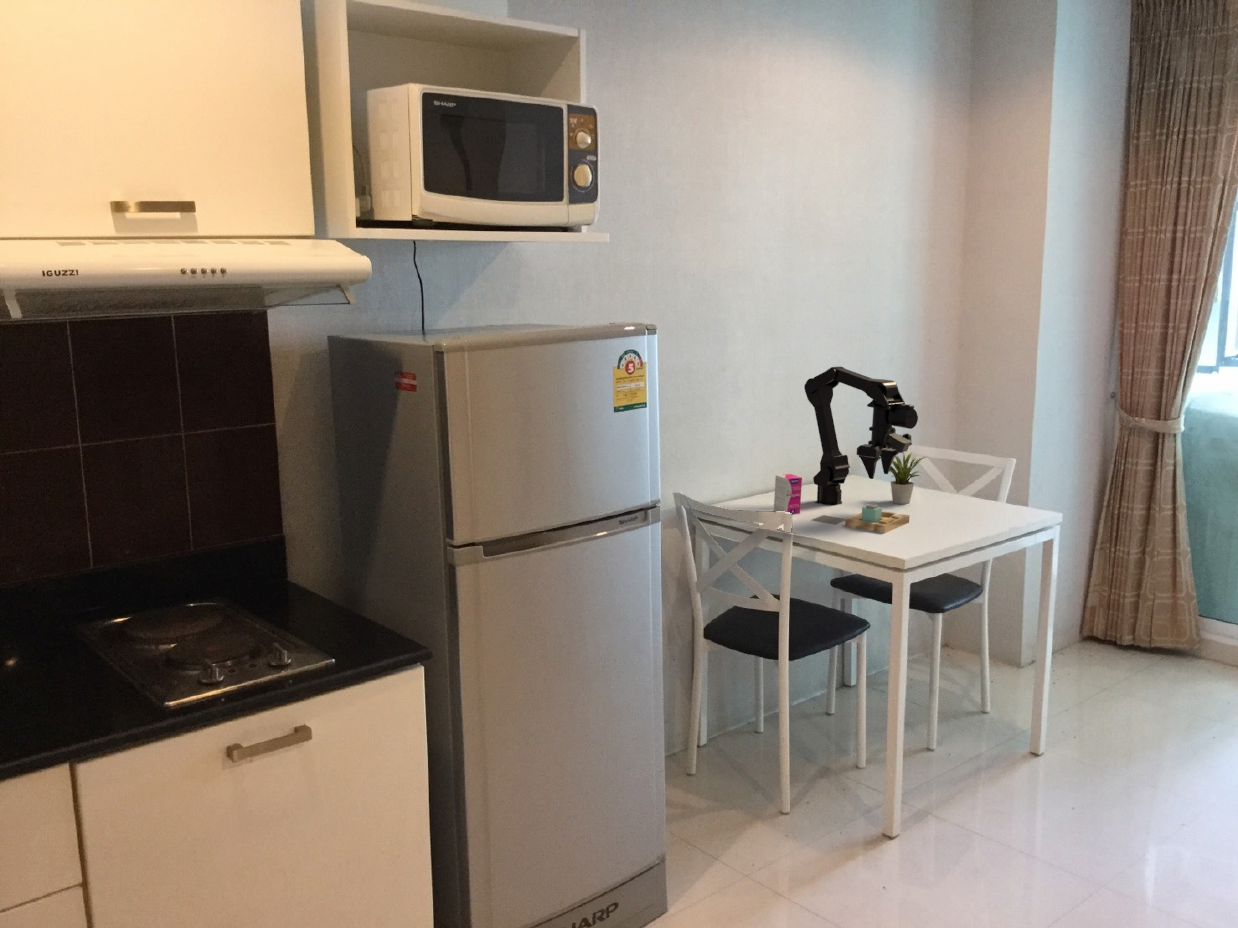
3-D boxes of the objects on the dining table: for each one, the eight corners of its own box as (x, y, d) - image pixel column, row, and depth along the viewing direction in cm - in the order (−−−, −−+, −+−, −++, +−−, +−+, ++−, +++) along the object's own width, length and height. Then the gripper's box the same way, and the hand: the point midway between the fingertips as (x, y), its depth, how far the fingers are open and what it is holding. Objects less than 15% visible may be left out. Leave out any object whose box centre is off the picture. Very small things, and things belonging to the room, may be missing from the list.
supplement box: (784, 516, 314) (786, 478, 311) (773, 512, 319) (774, 475, 317) (800, 514, 316) (802, 476, 314) (788, 510, 321) (790, 473, 319)
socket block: (845, 527, 302) (845, 517, 301) (870, 517, 314) (870, 507, 313) (884, 534, 294) (885, 524, 294) (909, 523, 306) (909, 513, 306)
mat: (810, 521, 308) (810, 520, 308) (823, 516, 314) (823, 515, 314) (835, 525, 303) (835, 524, 303) (848, 520, 310) (848, 519, 309)
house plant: (920, 496, 341) (923, 446, 338) (934, 506, 328) (937, 454, 325) (876, 496, 341) (878, 446, 338) (888, 506, 327) (891, 454, 324)
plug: (861, 528, 301) (862, 505, 299) (867, 526, 304) (868, 503, 302) (874, 531, 298) (875, 507, 297) (880, 528, 301) (881, 505, 300)
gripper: (893, 431, 299) (889, 485, 302) (922, 423, 313) (918, 475, 316) (857, 426, 306) (853, 479, 309) (887, 419, 320) (883, 470, 323)
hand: (878, 476), depth 314 cm, fingers open, 9 cm apart
